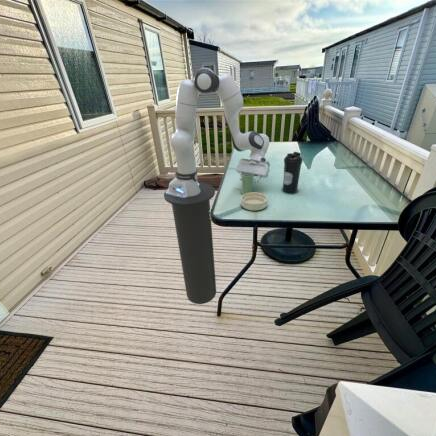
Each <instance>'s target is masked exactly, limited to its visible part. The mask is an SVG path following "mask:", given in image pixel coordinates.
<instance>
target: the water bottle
mask: <svg viewBox="0 0 436 436" xmlns="http://www.w3.org/2000/svg"><path fill="white" fill-rule="evenodd" d="M301 155H302V154H301V152H299V151H294V152H293V153H292V152H291V153H289V152H288V153H287V154H286V156H285V157H284V158H283V163H284V165H283V179H282V180H283V181H282V192H283V193H285V194H288V195H289V194H290V195H291V194H292V195H293V194H296V193H297V192H298V187H299V180H300V174H301V168H302V163H303V160H304V159H303V157H302V156H301Z"/></svg>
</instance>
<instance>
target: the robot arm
mask: <svg viewBox="0 0 436 436" xmlns="http://www.w3.org/2000/svg"><path fill="white" fill-rule="evenodd" d="M177 87H178V88H177V93H176V101H175V113H174V117H175V118H174V119H175V122H176V123H175V124H176V125H175V126H176V128H175V132H173V134H172V135H171V137H170V147H171V149H172V151H173V154H174V157H175V160H176V166H177V171H175V173H174V176H175V177H174V178H173V179H172V180H170V182H169V184H168V188H167V189H166V190H165V191H166V194H167V195H171V196H176V197H180V198H187V197H191V196H195V195H198V194H199V193H200V192H201V190H200V188H199V183H198V182H199V181H198V180H199V179H198V170H197V165H196V158H195V155H194V152H193V144H194V143H195V139H196V118H197V110H198V100H199V96H200V94H210V93H216V94H217V96H218V97H219V100H220V101H221V103H222V106H223V116H224V120H225V123H226V126H227V129H228V132H229V134H230V137H231V142H232V147H233V149H235V150H236V151H237V152H240V153H241V152H244V151H249V150H250V154H249V156H248V158H241V159H239V161H238V163H237V165H236V167H235V171H236V173H238V174H239V176H240V177H239V181H242V174H243V173H252V174H254V177H257V178H254V181H253V184H258V182H259V181H260V180H261V179H262V178H264V179H266V178H268V177H269V174H270V167H271V163H270V161H269V159H267V158H266V154H267V152H268V149H269V146H270V137H269V136H268V135H267V134H265V133H259V132H258V131H256V130H252V131H247V132H244V133H243V132H241V130H240V127H239V124H238V121H237V116H238V114H239V113H240V112H241V111H242V109H243V107H244V97H243V94H242V92H241V90H240V87H239V86H238V83H237V82H236V80H235V78H234V77H233V76H232V74H231V73H229V72H223V73H221V74H219V75H217V74H216V73H215V72H214V71H213V70H212V69H211V68H209V67H201V68H199V69H198V70H197V71H196V72H195V74H194V76H193V78H191V79H190V78H185V79H182V80H180V82H179V84H178V86H177Z"/></svg>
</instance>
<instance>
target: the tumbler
mask: <svg viewBox="0 0 436 436" xmlns="http://www.w3.org/2000/svg"><path fill="white" fill-rule="evenodd" d="M254 177H255V176H254V174H252V173H243V174H242V180H241V182H242V183H241V194H242V195H244V194H246V193H251V192H254V181H255V178H254Z"/></svg>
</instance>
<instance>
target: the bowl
mask: <svg viewBox="0 0 436 436" xmlns="http://www.w3.org/2000/svg"><path fill="white" fill-rule="evenodd" d="M240 205H241V207H242V208H243V209H245V210H248V211H254V212H256V211H261V210H263V209H265V208H267V206H268V196H267V195H266V194H264V193H261V192H255V191H253V192H251V193H246V194H244V195H243V194H242V195H241V196H240Z"/></svg>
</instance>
